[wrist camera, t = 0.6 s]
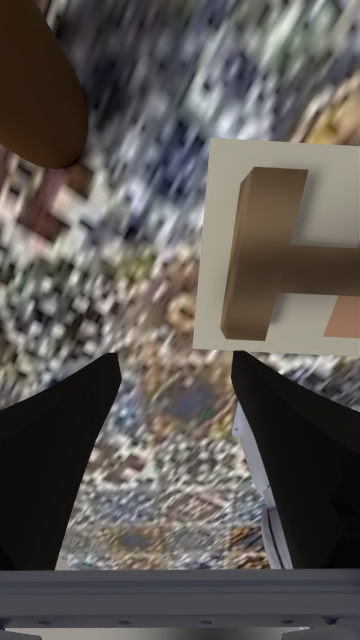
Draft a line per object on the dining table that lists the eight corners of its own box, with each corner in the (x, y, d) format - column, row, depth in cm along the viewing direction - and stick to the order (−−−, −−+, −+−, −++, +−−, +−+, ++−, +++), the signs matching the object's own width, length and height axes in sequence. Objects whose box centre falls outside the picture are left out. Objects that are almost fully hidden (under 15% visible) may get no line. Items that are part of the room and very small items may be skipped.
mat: (455, 359, 22) (461, 361, 21) (192, 346, 21) (192, 348, 21) (597, 164, 15) (611, 160, 14) (209, 141, 14) (210, 137, 14)
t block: (336, 333, 20) (362, 345, 17) (219, 327, 20) (226, 339, 17) (394, 192, 15) (444, 177, 12) (240, 183, 15) (254, 166, 12)
